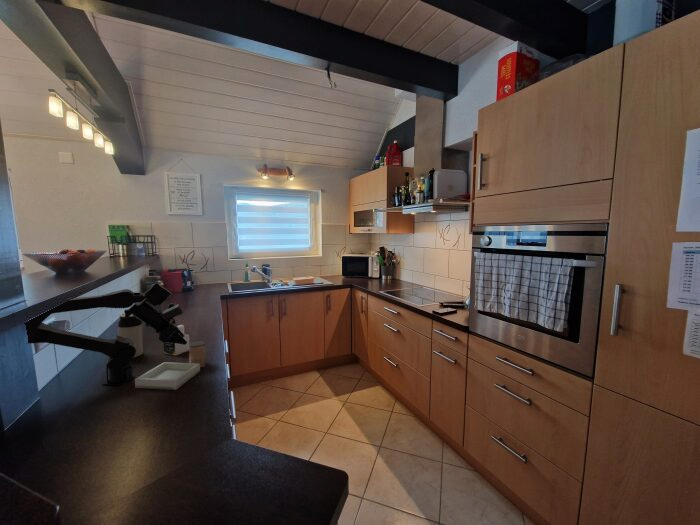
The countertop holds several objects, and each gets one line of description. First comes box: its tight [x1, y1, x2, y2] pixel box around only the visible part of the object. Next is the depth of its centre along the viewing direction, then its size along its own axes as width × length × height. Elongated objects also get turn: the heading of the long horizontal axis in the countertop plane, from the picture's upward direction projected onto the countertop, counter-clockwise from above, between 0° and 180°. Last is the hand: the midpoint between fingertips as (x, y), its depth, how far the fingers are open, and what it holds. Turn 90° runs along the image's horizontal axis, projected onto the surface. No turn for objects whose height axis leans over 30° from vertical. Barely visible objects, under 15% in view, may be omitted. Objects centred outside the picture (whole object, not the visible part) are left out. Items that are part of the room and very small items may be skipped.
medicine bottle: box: [163, 323, 190, 356], centre depth 128 cm, size 7×7×12 cm
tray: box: [134, 361, 201, 391], centre depth 102 cm, size 14×14×3 cm
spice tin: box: [188, 340, 206, 368], centre depth 114 cm, size 5×5×9 cm
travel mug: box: [117, 312, 144, 359], centre depth 122 cm, size 8×8×18 cm
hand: (184, 340), depth 111 cm, fingers open, 9 cm apart
